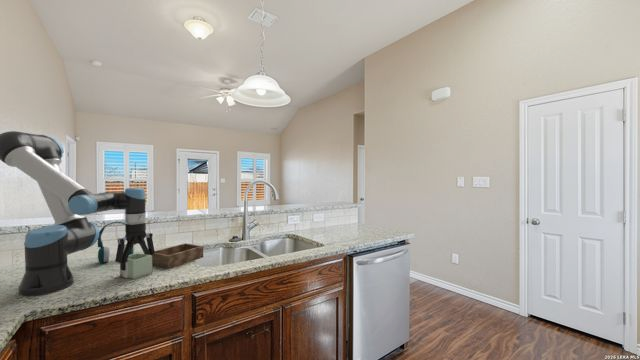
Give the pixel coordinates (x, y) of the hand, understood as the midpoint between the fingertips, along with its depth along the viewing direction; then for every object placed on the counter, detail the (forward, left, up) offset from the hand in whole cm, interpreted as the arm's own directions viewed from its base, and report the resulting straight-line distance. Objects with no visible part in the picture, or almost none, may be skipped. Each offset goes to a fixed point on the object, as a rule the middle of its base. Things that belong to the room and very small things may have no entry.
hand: (136, 273), depth 121 cm
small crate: (0, 0, 0) cm, 0 cm away
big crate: (+21, +1, 0) cm, 21 cm away
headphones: (+7, +29, -1) cm, 30 cm away
